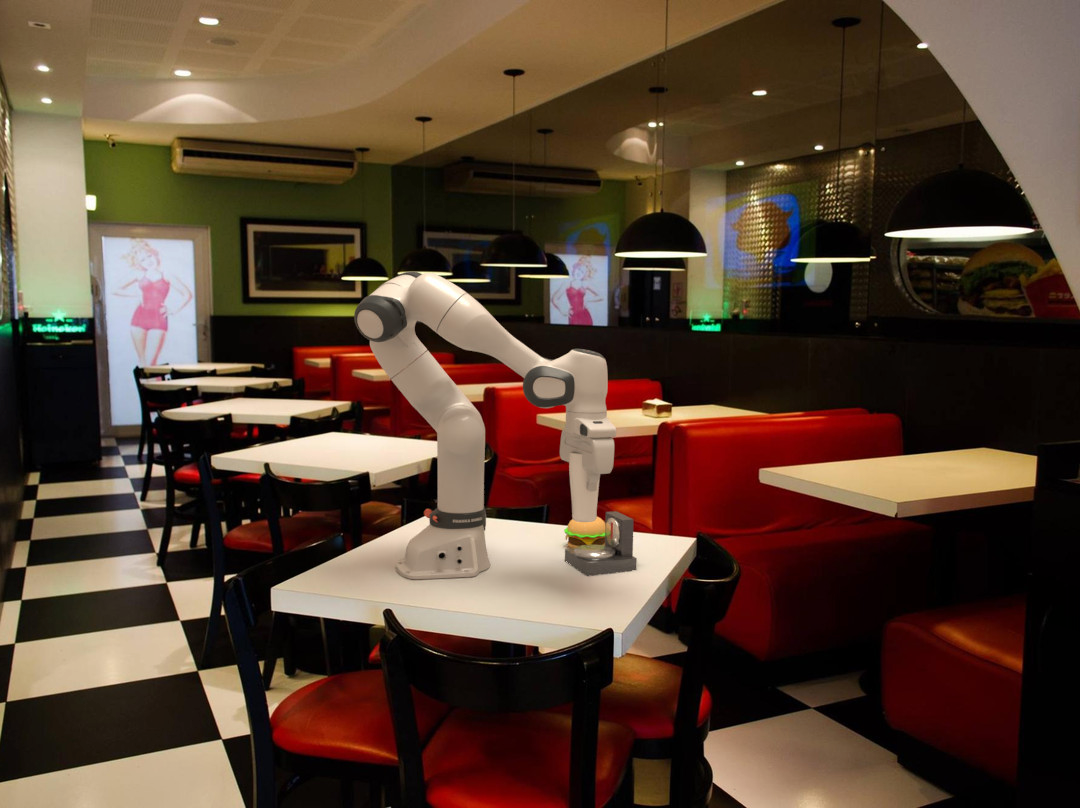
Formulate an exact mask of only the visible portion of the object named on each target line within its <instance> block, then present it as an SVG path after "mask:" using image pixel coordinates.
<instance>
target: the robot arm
mask: <svg viewBox="0 0 1080 808" xmlns="http://www.w3.org/2000/svg"><path fill="white" fill-rule="evenodd" d="M353 318H354V323H355V326H356V328H357V330H358V331H359V333H360V334H361V335H362V336H363V337H364V338H366V339H367V340H369V346H370V349H371V351H372V353H373V355H374V357H375V359H376V360H377V362H378V364H379V365H380V367H381V369H382V370H383V371H384V372H385V374H386V375H387V376H388V378H389V379H390V381H392V383H393V384H394V386H396V388H397V389H398V391H400V392H401V394H402V395H403V397H405V399H406V400H407V401H408V402H409V404H410V405H411V406H412V408H414V409H415V411H417V412H418V413H419V414H420V416H422V418H424V420H426V422H427V423H428V424H429V425H430V426H431V427H432V429H433V430H435V432H436V433H437V434H436V435H437V436H436V437H437V438H436V439H437V440H436V441H437V443H436V445H437V448H436V449H437V453H436V454H437V458H436V459H437V508H435V509H433V510H432V509H431V508H426V509H425V510H424V511H423V515H424V517H426V518H427V519H429V524H428V525H427V526H426V527H425V528H423V529H422V530H421V531H420V532H418V534H416V535H415V536H414V537H412V538H411V539H410V540H409V541H408V543H407V545H406V550H405V554H404V559H403V558H402V559H399V560H397V561H396V563H395V570H396V572H397V573H398V574H399V576H401V577H403V578H406V579H409V580H429V579H431V580H432V579H447V578H448V579H451V578H473V577H476V576H478V575H479V573H481V572H483V571H485V570H488V569H490V567H491V561H490V559H489V554H488V549H487V545H486V535H485V531H486V526H487V514H486V508H485V505H484V504H485V495H484V494H485V490H484V489H485V484H484V483H485V457H486V456H485V453H486V451H485V450H486V449H485V448H486V426H485V423H484V421H483V418H482V415H481V413H480V411H479V410H478V409H477V408H476V406H474V404H473V403H472V402H471V401H470V400H469V399H468V397H467V396H466V395H465V394H464V392H463V391H462V390H461V389H460V388H459V386H458V385H457V383H455V381H453V380H452V378H451V377H450V376H449V375H448V373H447V372H446V371H445V370H444V368H443V367H442V365H441V364H440V363H439V362H438V360H436V358H435V357H434V356H433V355H432V354H431V352H430V351H429V350H428V348H427V347H426V346H425V345H424V344H423V343H422V342H421V340H420V339H419V338H418V336H417V335H416V331H415V330H416V329H415V327H416V324H420V323H423V324H424V325H426V326H427V327H429V328H430V329H431V330H432V331H433V332H435V333H436V334H438V335H439V336H440V337H442V338H443V339H444V340H445V341H447V342H449V343H450V344H452V345H454V346H456V347H458V348H461V349H462V350H465V351H472V352H477V353H482V354H485V355H487V356H491V357H493V358H495V359H496V360H498V361H499V362H501V363H503V364H504V365H505V366H507V367H508V368H510V369H511V370H512V371H514V372H515V373H516V374H517V375H519V376H521V377H522V378H523V382H522V391H523V395H524V397H525V398H526V399H527V401H528V402H529V403H530V404H531V405H533V406H535V407H537V408H540V409H551V408H554V407H560V406H565V425H564V428H563V429H562V430H561V433H560V434H561V436H560V444H559V457H560V459H561V460H562V461H564V462H567V463H569V457H570V452H572V453H576V454H582V467H583V468H584V469H586V470H588V471H589V476H590V477H589V481H588V482H587V490H589V491H596V490H597V483H598V480H599V481H600V479H599V478H601V475H606V474H611V473H612V470H613V469H614V461H615V459H614V458H615V440H614V438H616V436H617V428H616V426H615V425H614V424H613V423H612V422H611V421H610V418H609V417H608V415H607V414H608V413H607V412H608V411H607V410H608V409H607V404H606V398H607V396H608V395H607V394H608V388H609V387H608V384H609V383H608V381H609V380H608V379H609V378H608V365H607V361H606V358H605V357H604V356H603V355H602V354H601V353H599V352H597V351H593V350H589V349H583V348H573V349H571V350H570V351H569V352H568V353H566V354H564V355H562V356H560V357H558V358H555V359H550V358H547V357H544V356H542V355H540V354H538V353H537V352H535V351H534V350H533V349H531V348H530V347H528V346H527V345H526V344H525V343H524V342H522V341H521V340H519V339H518V338H516V337H515V336H514V335H512V334H511V333H510V332H509V331H508V330H507V329H505V327H503V326H502V325H501V323H499V321H497V320H496V318H495V317H494V316H493V315H492V314H491V313H490V312H489V311H488V309H486V308H485V306H483V305H482V304H481V302H479V301H478V300H477V299H475V298H474V297H473V296H471V294H469V293H468V292H467V291H465V290H464V289H462V288H461V287H460V286H458V285H456V284H454V283H453V282H451V281H450V280H448V279H446V278H444V277H442V276H440V275H438V274H436V273H433V272H426V273H421V272H420V271H419V272H418V271H406V272H402V273H399V274H397V276H395V277H393V278H392V279H389V280H387V281H385V282H384V283H382V284H380V285H379V286H378V288H376V289H375V290H374V291H373V292H372V293H370V294H369V295H367V296H365V297H364V298H363V299H362V300H361V301H360V303H358V304H357V307H356V308H355V311H354V317H353Z"/></svg>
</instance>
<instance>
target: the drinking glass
mask: <svg viewBox="0 0 1080 808" xmlns="http://www.w3.org/2000/svg"><path fill="white" fill-rule="evenodd" d="M568 464H569V465H568V468H569V469H568V471H569V472H568V473H569V486H570V497H571V498H570V500H571V513H572V514H571V517H572V519H573V520H574V521H577V522H593V521H595V520H596V518H597V517H598V515H597V510H598V499H599V498H598V497H599V489H600V488H599V487H600V478H601V477H600V478H599V480H598V483H597V490H596V491H589V490H587V482H588V481H589V477H590V476H589V471H588V470H586V469H584V468H583V467H582V454H576V453H572V452H570V457H569V462H568Z"/></svg>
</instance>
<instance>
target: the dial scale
mask: <svg viewBox="0 0 1080 808" xmlns="http://www.w3.org/2000/svg"><path fill="white" fill-rule="evenodd" d="M604 519H605V520H604V522H605V545H582V546H578V547H576V548H572V549H571V548H565V549H564V562H566V561H567V562H568V563H567V562H566V563H567V564H569V563H570V564H571V565H570V564H569V565H570V566H572V567H573V566H574V567H575V568H574V567H573V568H574V569H576V570H577V569H578V570H577V571H579V572H580V571H581V573H582V574H583V573H584V574H583V575H584V576H586V575H587V576H586V577H590V576H589V575H592V576H600V575H599V574H601V575H607V574H608V573H609V574H617V573H616V572H618V573H625V571H627V572H633V571H632V570H636V571H637V557H635V556H634V554H633V553H634V552H633V551H634V548H633V547H634V519H633V518H632V517H629V516H627V515H625V514H623V513H621V512H619V511H614V510H613V511H605V517H604Z"/></svg>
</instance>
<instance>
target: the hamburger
mask: <svg viewBox="0 0 1080 808" xmlns="http://www.w3.org/2000/svg"><path fill="white" fill-rule="evenodd" d="M563 531H564V534H566V535H565V541H567V540H568V541H567V545H568V547H569V549H572V548H576V547H578V546H582V545H605V520H603V519H602V518H601V517H599V516H597V518H596V520H595V521H593V522H577V521H574V520H573V518H572V519H571V520H569V523H568V524H567V526H566V528H565V529H564V530H563Z"/></svg>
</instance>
